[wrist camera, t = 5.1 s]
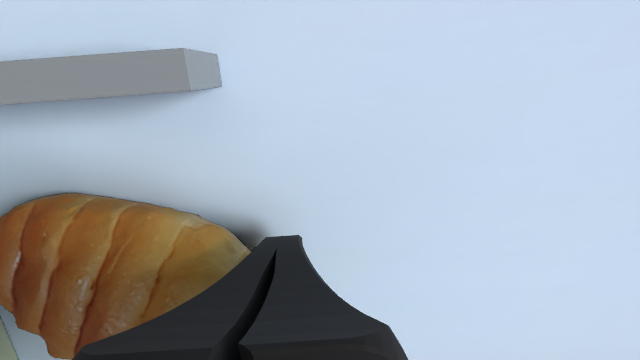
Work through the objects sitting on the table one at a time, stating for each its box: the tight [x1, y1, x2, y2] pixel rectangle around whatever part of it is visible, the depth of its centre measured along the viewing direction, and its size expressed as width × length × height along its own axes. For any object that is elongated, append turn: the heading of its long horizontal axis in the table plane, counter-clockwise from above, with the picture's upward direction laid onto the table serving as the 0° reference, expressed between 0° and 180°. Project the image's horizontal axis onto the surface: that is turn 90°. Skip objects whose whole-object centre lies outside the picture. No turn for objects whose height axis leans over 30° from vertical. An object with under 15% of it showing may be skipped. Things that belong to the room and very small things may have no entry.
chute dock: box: [0, 48, 222, 360], centre depth 11 cm, size 12×14×4 cm
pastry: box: [0, 193, 251, 360], centre depth 12 cm, size 9×7×4 cm
